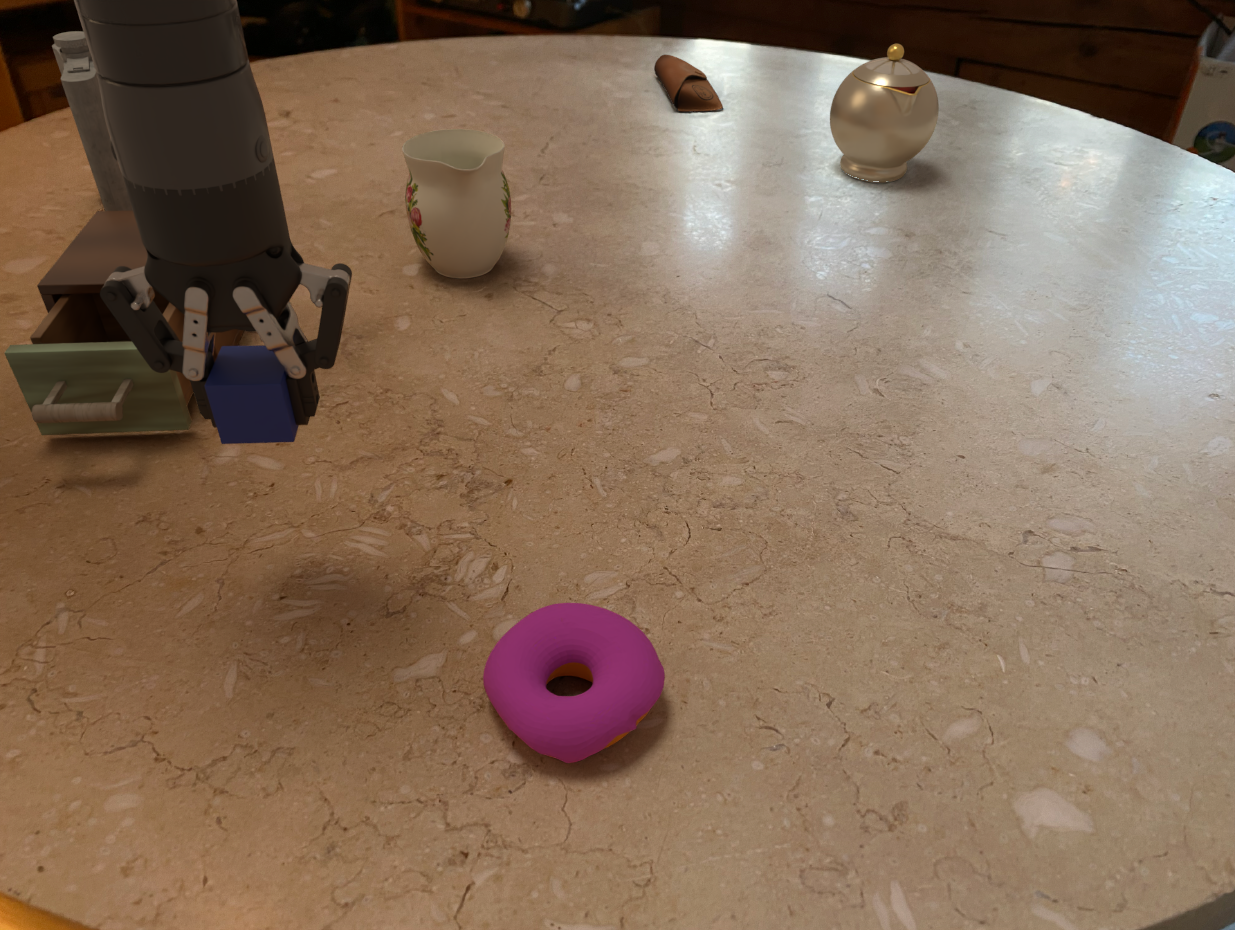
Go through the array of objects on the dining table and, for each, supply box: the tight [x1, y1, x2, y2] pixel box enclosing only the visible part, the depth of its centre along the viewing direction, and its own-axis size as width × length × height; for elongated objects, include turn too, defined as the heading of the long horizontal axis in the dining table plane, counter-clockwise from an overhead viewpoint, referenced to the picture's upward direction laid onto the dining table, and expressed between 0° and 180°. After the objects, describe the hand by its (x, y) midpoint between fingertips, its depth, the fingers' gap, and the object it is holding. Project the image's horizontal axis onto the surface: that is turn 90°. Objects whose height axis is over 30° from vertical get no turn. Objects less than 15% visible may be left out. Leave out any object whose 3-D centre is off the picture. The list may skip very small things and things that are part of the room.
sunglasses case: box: [653, 54, 724, 113], centre depth 150 cm, size 18×7×7 cm, turn 8°
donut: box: [482, 602, 666, 764], centre depth 57 cm, size 10×10×5 cm
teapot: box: [829, 43, 940, 184], centre depth 123 cm, size 18×14×16 cm
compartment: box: [4, 292, 194, 436], centre depth 78 cm, size 18×12×8 cm, turn 5°
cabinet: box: [36, 210, 245, 361], centre depth 87 cm, size 15×13×10 cm
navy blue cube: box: [205, 344, 300, 445], centre depth 58 cm, size 4×4×4 cm
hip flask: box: [51, 30, 133, 211], centre depth 105 cm, size 16×4×20 cm, turn 28°
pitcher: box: [401, 128, 512, 279], centre depth 100 cm, size 11×18×14 cm, turn 19°
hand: (263, 417), depth 60 cm, fingers closed on navy blue cube, 4 cm apart
